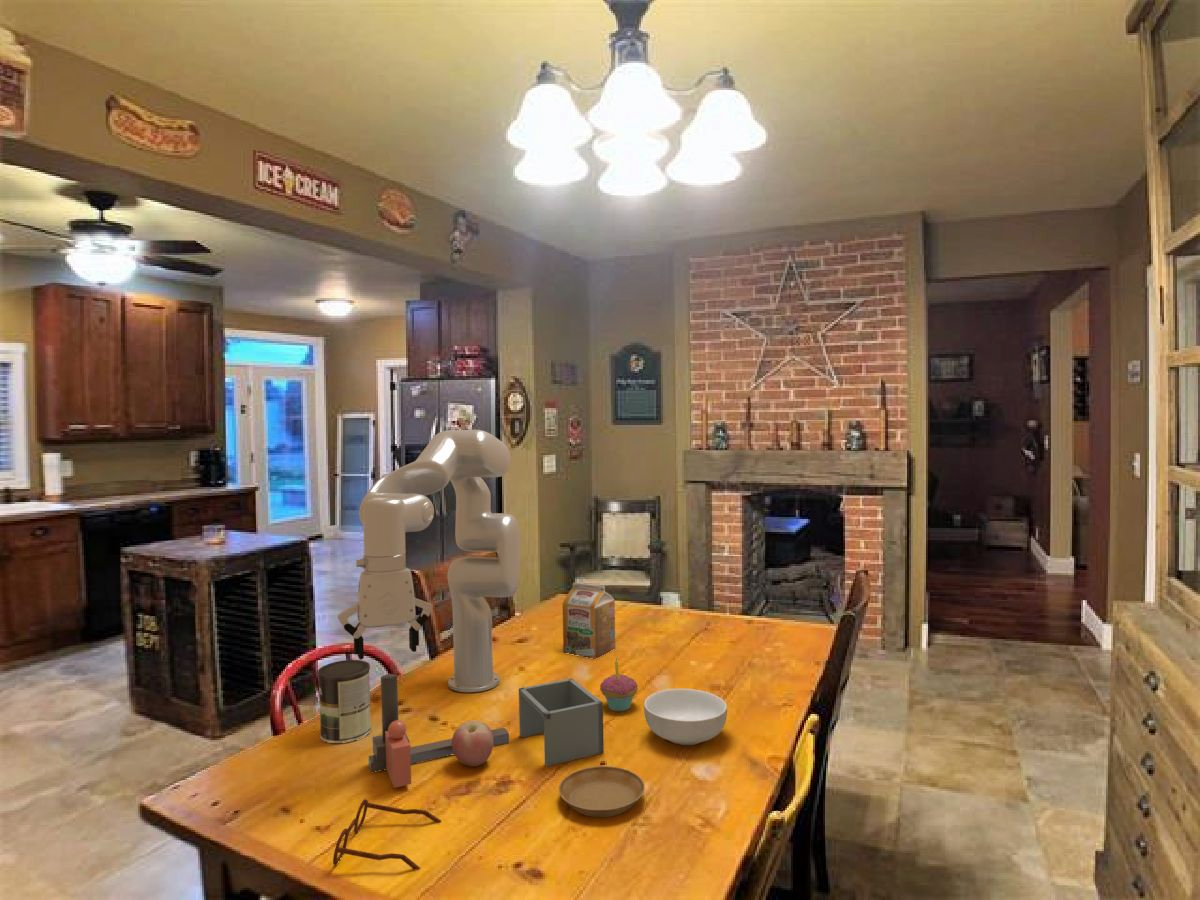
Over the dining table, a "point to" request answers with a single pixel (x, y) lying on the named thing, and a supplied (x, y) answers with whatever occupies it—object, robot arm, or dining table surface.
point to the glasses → (356, 827)
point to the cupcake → (618, 690)
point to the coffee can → (344, 701)
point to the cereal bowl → (685, 715)
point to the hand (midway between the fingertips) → (387, 653)
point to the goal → (562, 720)
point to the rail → (437, 750)
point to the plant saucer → (601, 790)
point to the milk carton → (588, 621)
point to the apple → (472, 743)
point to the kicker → (393, 736)
